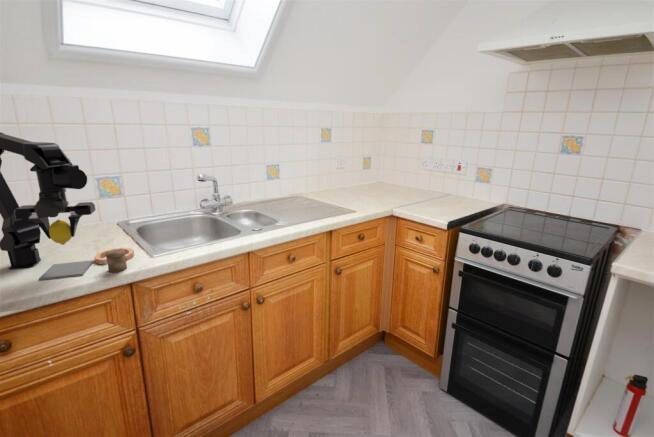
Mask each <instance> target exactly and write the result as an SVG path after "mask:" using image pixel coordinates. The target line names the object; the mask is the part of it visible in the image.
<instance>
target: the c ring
mask: <svg viewBox="0 0 654 437" xmlns="http://www.w3.org/2000/svg"><path fill="white" fill-rule="evenodd" d="M115 249H124V250H125V258H126V262H127V261H129V260H130V259H133V258H134V256H135V250H134V249H133V248H131V247H114V248H110V249H105V250H102V251H100V252H97V253H96V254H95V255H94V256H93V259H94V260H93V261H94V262H95V263H97V264H98V265H108V264H107V258H106V256H105V253H106V252H108V251H110V250H115ZM104 257H105V258H104Z"/></svg>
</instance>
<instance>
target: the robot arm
mask: <svg viewBox="0 0 654 437" xmlns="http://www.w3.org/2000/svg"><path fill="white" fill-rule="evenodd" d="M6 151H7V152H9V153H13V154H16V155H20V156H23V157H24V160H26V161H27V162H28V163H29V162H30V163H31V164H33V166H31V168H30V169H29V170H30V172H35V174H36V177H37V183H38V188H39V192H38V200H37V201H36V203H35V204H30V205H29V204H27V205H21V206H20V205H19V203H18V202H17V199H16V197H15V196H14V194H13V192H12V190H11V188H10V186H9V184H8V182H7V181H6V179H5V177H4V175H3V173H2V172H1V170H0V216H1V218H2V226H1V232H2V234H3V235H2V238H1V239H0V250H1V251H5V252H7V256H8V259H9V263H10V266H8V267H7V268H8V270H13V269H24V268H31V267H34V266H35V265H37V264H38V263H39V262H41V260H42V258H41V257H40V252H39V249H38V248H36V244H40V243H41V233H42V232H43V233H44V234H45V236H46V237H47V238H48V239H51V237H50V235H49V228H50V225H51V224H50V222H49V221H50V220H49V218H57V217H58V216H59V214H67V213H69V214H70V215H69V216H68V217H67V219H68V220H69V225H70V229H71V235H72V237H71V238H74V237H75V235H76V232H77V228H78V224H79V222H80V218H82V217H83V216H89V215H92V214H93V213H94V212H96V205H95V203H94V202H92V201H89V202H87V201H86V202H78V203H77V204H75V205H71V206H70V205H69V201H68V200H67V196H66V192H67V189H70V190H71V189H72V190H81V189H84V188H85V187H86V185H87V183H88V176H87V174H86V173H85V172H84V171H83V170H82V169H80V166H79V165H78V164H73V163H72V161H71V160H70V159H69V158H68V157H67V155H66V154H65V152H64V151H63V150H62V149H61V147H60V146H59V144H58V143H56V142H48V141H47V142H44V141H43V142H42V141H39V142H37V141H30V140H26V139H24V138H19V137H15V136H12V135H9V134H5V133H4V132H1V131H0V169H1V167H2V164H3V163H2V162H3V161H2V157H1V156H3V154H4V153H5V152H6ZM41 231H42V232H41ZM51 240H52V239H51Z"/></svg>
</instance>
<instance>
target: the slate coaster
mask: <svg viewBox="0 0 654 437" xmlns="http://www.w3.org/2000/svg"><path fill="white" fill-rule="evenodd" d="M93 263H94V260H93V259H92V260H91V259H90V260H83V261H82V260H81V261H70V262H62V263H61V262H60V263H53V264H52V265H51V266H50V267H49V268H48V269H47V270H46V271H45V272H44V273H42V275H41V276H40V277H39V278H38V280H39V281H45V280H53V279H54V280H55V279H64V278H71V277H80V276H85V273H86V272H87V271H88V269H89V268H90V267H91V266H92V264H93Z"/></svg>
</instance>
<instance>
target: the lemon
mask: <svg viewBox="0 0 654 437" xmlns="http://www.w3.org/2000/svg"><path fill="white" fill-rule="evenodd" d="M49 235H50V237H51V240H52V242H54V243H56V244H60V245H62V246H63V245H65V244H66V243H67V242H70V241H71V239H72V238H73V237H72V235H71V229H70V223H68V222H66V221H65V220H61V219H56V220H55V221H53V222H51V224H50V228H49Z"/></svg>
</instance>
